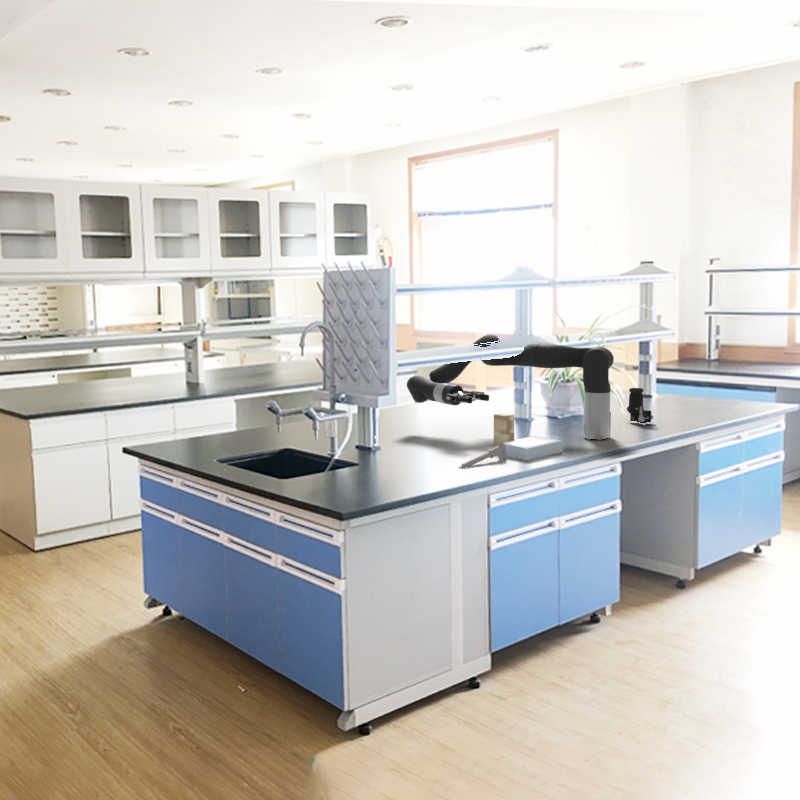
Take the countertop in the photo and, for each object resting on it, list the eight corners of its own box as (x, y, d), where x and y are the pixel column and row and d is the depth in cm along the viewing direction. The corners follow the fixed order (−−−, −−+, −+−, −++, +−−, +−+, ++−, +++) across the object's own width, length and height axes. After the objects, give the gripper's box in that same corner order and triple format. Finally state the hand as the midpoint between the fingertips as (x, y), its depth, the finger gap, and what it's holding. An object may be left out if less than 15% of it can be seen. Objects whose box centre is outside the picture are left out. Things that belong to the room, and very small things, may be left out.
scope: (642, 391, 330) (621, 388, 338) (641, 426, 332) (620, 422, 340) (655, 389, 335) (634, 386, 343) (654, 423, 337) (633, 420, 345)
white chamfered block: (534, 447, 295) (534, 435, 294) (561, 452, 286) (561, 440, 285) (499, 454, 283) (499, 442, 282) (526, 460, 274) (526, 447, 273)
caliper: (503, 459, 278) (503, 440, 277) (506, 459, 277) (506, 441, 276) (458, 468, 265) (458, 449, 264) (461, 469, 264) (461, 449, 263)
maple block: (503, 446, 297) (503, 412, 295) (514, 448, 293) (514, 414, 291) (493, 448, 293) (493, 414, 292) (504, 450, 290) (504, 416, 288)
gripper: (434, 385, 306) (466, 390, 294) (462, 382, 315) (494, 386, 303) (434, 406, 307) (465, 411, 295) (461, 402, 317) (493, 407, 304)
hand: (480, 399), depth 299 cm, fingers open, 8 cm apart
